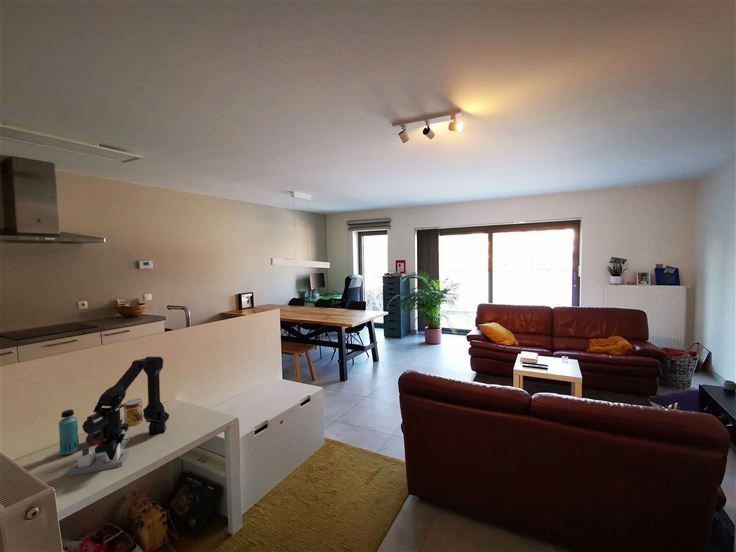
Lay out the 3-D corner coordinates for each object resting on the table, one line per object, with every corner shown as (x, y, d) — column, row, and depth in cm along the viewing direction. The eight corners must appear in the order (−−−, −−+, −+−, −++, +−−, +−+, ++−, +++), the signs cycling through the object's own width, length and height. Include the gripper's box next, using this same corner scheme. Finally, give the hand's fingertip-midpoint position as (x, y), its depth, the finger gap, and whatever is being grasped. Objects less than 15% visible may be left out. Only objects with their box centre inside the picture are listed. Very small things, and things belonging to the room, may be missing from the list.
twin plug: (94, 463, 137) (93, 444, 137) (90, 469, 134) (89, 449, 133) (82, 465, 136) (81, 446, 136) (78, 471, 132) (77, 451, 132)
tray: (105, 443, 154) (105, 440, 154) (130, 439, 157) (130, 436, 157) (93, 458, 142) (93, 456, 142) (120, 454, 145) (120, 451, 145)
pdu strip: (128, 456, 143) (128, 450, 143) (122, 467, 136) (121, 460, 136) (78, 465, 137) (78, 458, 137) (68, 477, 130) (68, 470, 129)
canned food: (145, 422, 174) (144, 400, 174) (127, 428, 168) (126, 405, 167) (139, 418, 179) (138, 397, 178) (122, 423, 172) (121, 402, 172)
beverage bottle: (62, 460, 141) (60, 415, 140) (57, 455, 144) (55, 412, 144) (81, 452, 146) (79, 409, 146) (76, 448, 150) (74, 406, 149)
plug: (120, 456, 141) (119, 437, 140) (117, 461, 137) (116, 442, 136) (109, 458, 139) (108, 439, 139) (105, 463, 135) (104, 444, 135)
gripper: (98, 414, 143) (100, 448, 144) (77, 436, 126) (79, 474, 126) (128, 410, 147) (129, 443, 148) (112, 430, 130) (113, 468, 130)
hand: (113, 456), depth 138 cm, fingers closed on plug, 4 cm apart
